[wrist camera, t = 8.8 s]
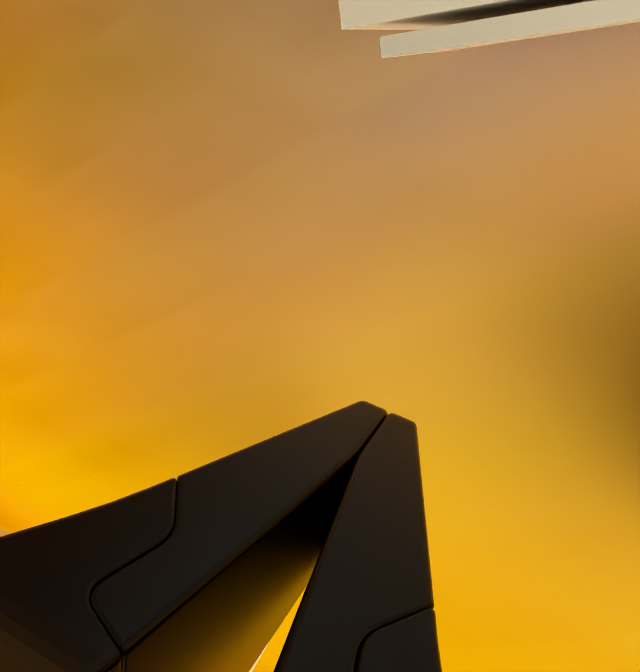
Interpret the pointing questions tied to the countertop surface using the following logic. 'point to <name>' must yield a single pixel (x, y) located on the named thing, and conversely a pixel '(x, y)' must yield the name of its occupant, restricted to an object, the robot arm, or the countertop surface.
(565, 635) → the countertop surface
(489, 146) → the countertop surface
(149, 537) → the robot arm
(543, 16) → the carton
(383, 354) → the countertop surface
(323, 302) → the countertop surface
